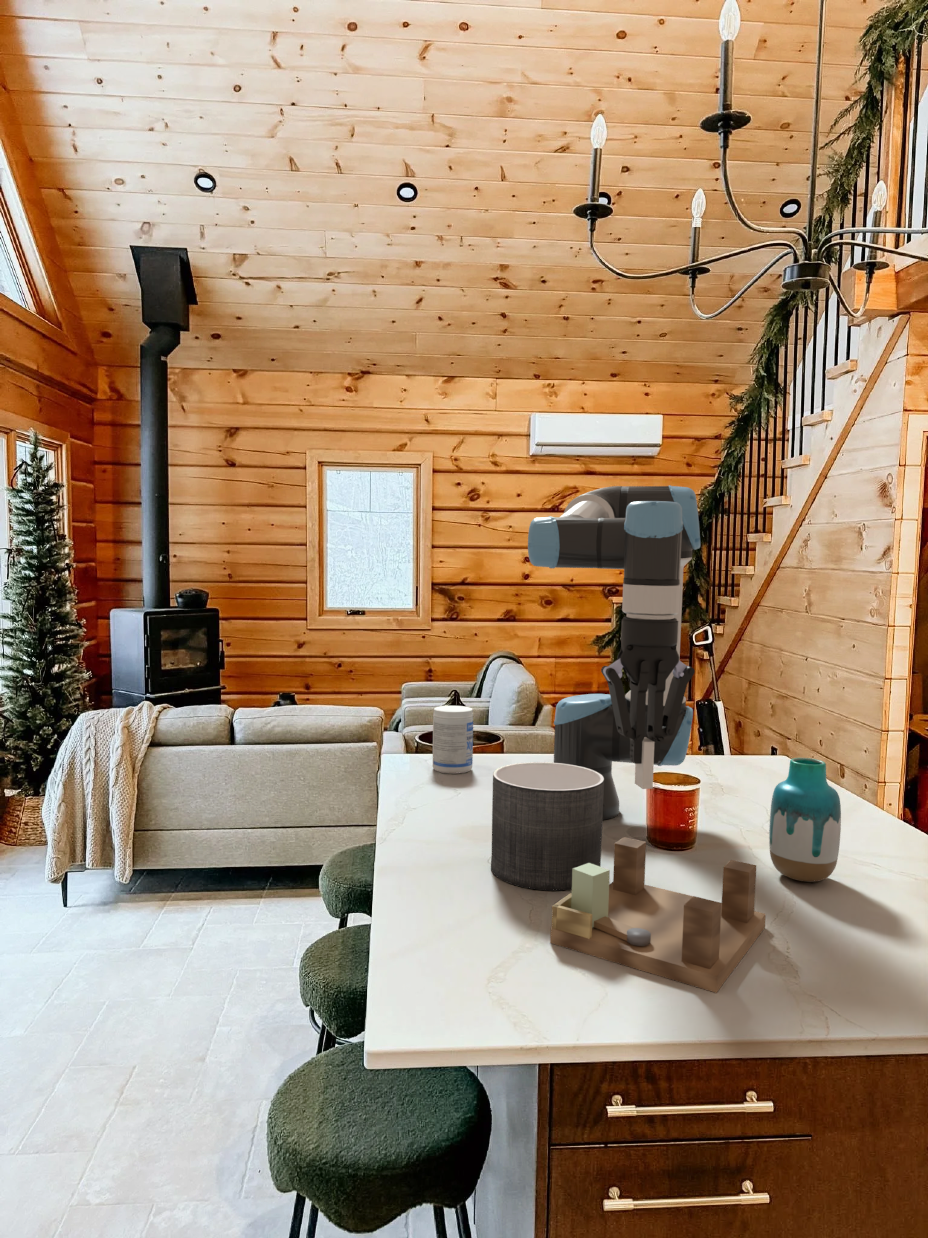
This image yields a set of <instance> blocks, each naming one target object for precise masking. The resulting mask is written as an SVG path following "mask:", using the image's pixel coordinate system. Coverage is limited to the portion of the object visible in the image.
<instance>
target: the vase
mask: <svg viewBox="0 0 928 1238" xmlns="http://www.w3.org/2000/svg"><path fill="white" fill-rule="evenodd" d="M787 774H788V775H787V778H786V779H785V780H783V781H781V782H778V783H777V784H776V786H775V787H774V789H773V793H772V797H771V804H770V810H769V811H770V812H769V813H770V814H769V824H768V825H769V826H768V827H769V829H768V833H769V835H768V836H769V837H768V841H769V842H768V845H769V855H770V859H771V863H772V865H773V866H774V867H775V869H776V870H777V872H779V873H780V874H781V875H783V876H785V877H787V878H789V879H792V880H796V881H799V882H800V881H801V882H807V883H811V882H812V883H813V882H820V881H823V880H826V879H828V878H829V877H830V876H831V875H832V874H833V873H834V871H835V869H836V866H837V864H838V858H839V852H840V842H841V831H842V830H841V829H842V828H841V827H842V824H841V823H842V810H841V807H842V806H841V805H842V804H841V798H840V795H839V793H838V791H837V790H836V789H835V788H834V787H832V785H831V786H830V785H829V784H828V781H827V763H826V762H825V761H823V760H821V759H816V758H809V757H793V758H791V759H790V760H789V768H788V773H787Z"/></svg>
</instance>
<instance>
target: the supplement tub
mask: <svg viewBox="0 0 928 1238" xmlns="http://www.w3.org/2000/svg"><path fill="white" fill-rule="evenodd" d="M473 710H474V709H473V708H472V707H469V706H463V705H441V706H436V707H434V709H433V717H432V768H433V770H434V771H437V772H438V773H442V774H463V773H464V774H465V773H467V772H470V771H471V770H472V769H473V756H474V754H473V753H474V750H473V749H474V744H473V743H474V713H473V712H474V711H473Z"/></svg>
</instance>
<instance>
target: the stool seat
mask: <svg viewBox="0 0 928 1238" xmlns="http://www.w3.org/2000/svg"><path fill="white" fill-rule="evenodd" d="M613 846H614V849H613V879H612V882H611V883H609V903H608V917H609V918H611V919H613V920H616V921H618V922H621V923H623V924H626V925H628V926H631V927H633V928H641V929H645V930H647V931H649V932H650V933H651V943H650V944H649V945H647V946H636V945H632V944H630V943H628V942H627V941H626V940H623V939H621V938H619V937H616V936H614V935H612V934H609V933H607V932H604V931H602V930H600V929H597V928H595V927H593V928H592V914H589V913H586V912H582V911H578V910H575V909H571V898H572V892H570V893H568V894H567V895H566V896H564V897H563V898H561V899H560V900H559V901H557V902H555V903H554V904H553V905H551V927H550V937H549V938H550V939H549V943H550V944H552V945H556V946H559V947H563V948H566V949H568V950H573V951H575V952H579V953H582V954H585V955H587V956H593V957H595V958H599V959H603V960H605V961H609V962H611V963H612V962H613V963H615V964H619V965H622V966H626V967H629V968H632V969H636V970H638V971H642V972H645V973H649V974H653V975H656V976H659V977H661V978H662V977H663V978H665V979H669V980H672V981H676V982H677V983H678V982H679V983H682V984H685V985H689V986H692V987H696V988H699V989H702V990H706V991H707V992H708V991H709V992H712V993H715V994H717V993H718V992H719V990H720V989H721V988H722V986H723V985H724V984H725V982H726V981H727V980H728V978H729V977H730V976H731V974H732V973H733V971H734V970H735V968H736V967H737V966H738V965H739V963H740V962H741V960H742V959H743V958H745V956H746V954H747V953H748V951H749V950H750V948H751V947H752V946H753V945H754V943H755V942H756V940H757V939H758V938H759V936H760V935H761V934H762V933H763V931H764V930H765V929H766V916H767V914H766V913H764V912H761V911H757V910H755V902H756V882H757V880H756V879H757V864H754V863H753V864H752V863H749V862H743V861H738V860H734V859H730V860H729V861H728V862H727V863H726V864H725V865H724V866H723V867H722V868H723V871H722V888H721V889H722V892H721V902H720V901H715V900H711V899H707V898H702V897H699V896H695V895H690V894H686V893H681V892H677V891H673V890H669V889H665V888H661V887H657V886H651V885H647V884H645V881H646V879H645V878H646V877H645V875H646V852H647V851H646V849H647V841H644V840H641V839H636V838H630V837H625V836H624V837H622V838H621V839H619V840H618V841H616V842H614V845H613Z"/></svg>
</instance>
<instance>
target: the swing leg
mask: <svg viewBox="0 0 928 1238" xmlns="http://www.w3.org/2000/svg"><path fill="white" fill-rule="evenodd" d="M609 884H610V869H607V868H604V867H602V866H601V867H600V866H597V865H594V864H591V863H587V864H584V865H581V866H579V867H576V868H573V869H572V889H571V893H572V898H571V909H575V910H578V911H582V912H586V913H589V914H592V928H593V927H595V928H597V929H600V930H602V931H604V932H607V933H609V934H612V935H614V936H616V937H619V938H621V939H623V940H626V941H627V942H628V943H630V944H632V945H636V946H647V945H649V944H650V943H651V933H650V932H649V931H647V930H645V929H641V928H633V927H631V926H628V925H626V924H623V923H621V922H618V921H616V920H613V919H611V918H609V917H608V903H609Z"/></svg>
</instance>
